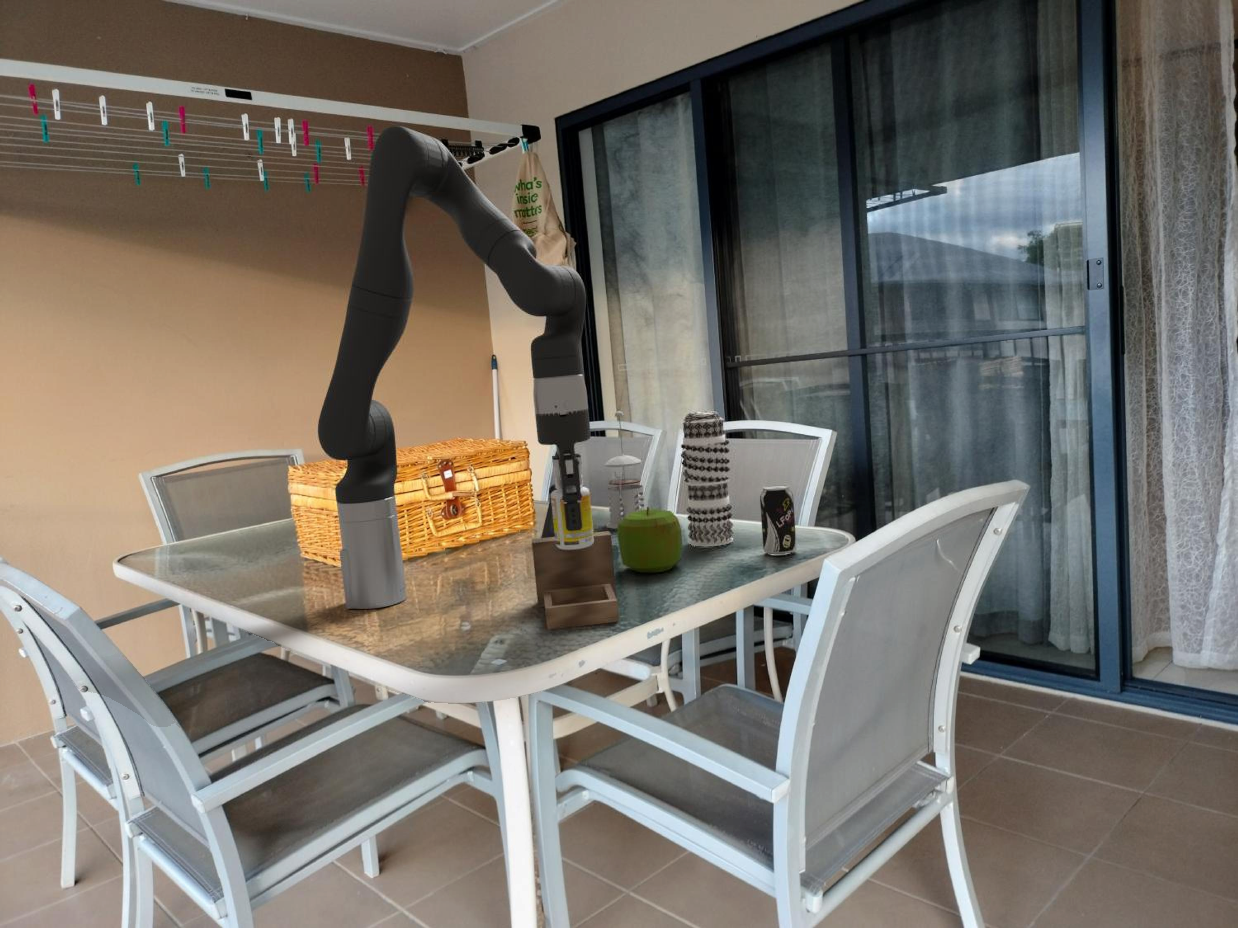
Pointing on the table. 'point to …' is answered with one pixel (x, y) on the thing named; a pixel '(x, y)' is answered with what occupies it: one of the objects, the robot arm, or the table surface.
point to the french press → (623, 488)
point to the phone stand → (549, 519)
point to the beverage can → (778, 519)
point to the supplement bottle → (562, 535)
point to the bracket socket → (576, 582)
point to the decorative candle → (706, 479)
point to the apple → (650, 540)
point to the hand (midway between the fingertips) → (572, 525)
